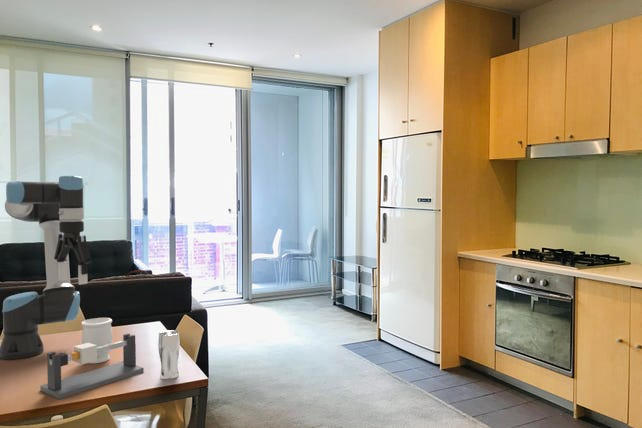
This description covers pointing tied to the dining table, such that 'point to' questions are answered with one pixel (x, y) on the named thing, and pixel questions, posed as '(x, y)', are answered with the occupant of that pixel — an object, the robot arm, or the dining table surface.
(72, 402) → the dining table surface
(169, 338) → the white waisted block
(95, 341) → the jar
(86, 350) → the sleeve
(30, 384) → the dining table surface
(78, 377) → the rod support stand
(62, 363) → the guide rod
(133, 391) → the dining table surface
